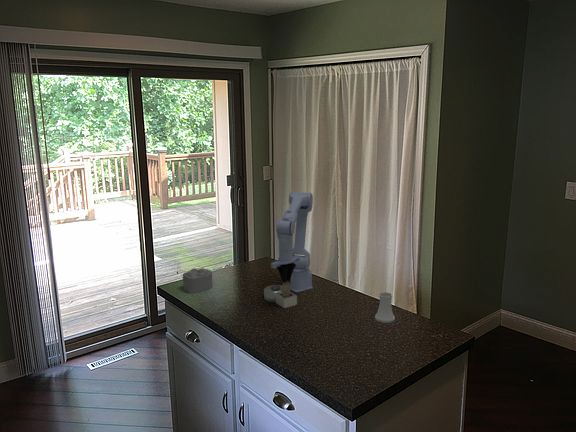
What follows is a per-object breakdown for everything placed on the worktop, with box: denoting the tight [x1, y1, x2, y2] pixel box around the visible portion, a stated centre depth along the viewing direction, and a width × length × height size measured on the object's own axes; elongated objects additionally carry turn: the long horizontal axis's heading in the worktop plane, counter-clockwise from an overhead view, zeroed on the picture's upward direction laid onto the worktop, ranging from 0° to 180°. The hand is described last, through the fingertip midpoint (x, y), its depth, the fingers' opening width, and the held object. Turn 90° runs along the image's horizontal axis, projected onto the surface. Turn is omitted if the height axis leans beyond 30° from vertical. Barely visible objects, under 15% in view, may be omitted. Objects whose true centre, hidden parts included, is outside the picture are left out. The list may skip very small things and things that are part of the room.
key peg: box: [281, 281, 291, 298], centre depth 197 cm, size 3×3×8 cm
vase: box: [374, 292, 396, 324], centre depth 182 cm, size 8×8×10 cm
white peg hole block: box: [263, 284, 298, 309], centre depth 201 cm, size 16×10×5 cm, turn 35°
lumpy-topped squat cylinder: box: [182, 267, 214, 295], centre depth 217 cm, size 10×13×9 cm
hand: (286, 281), depth 196 cm, fingers closed
